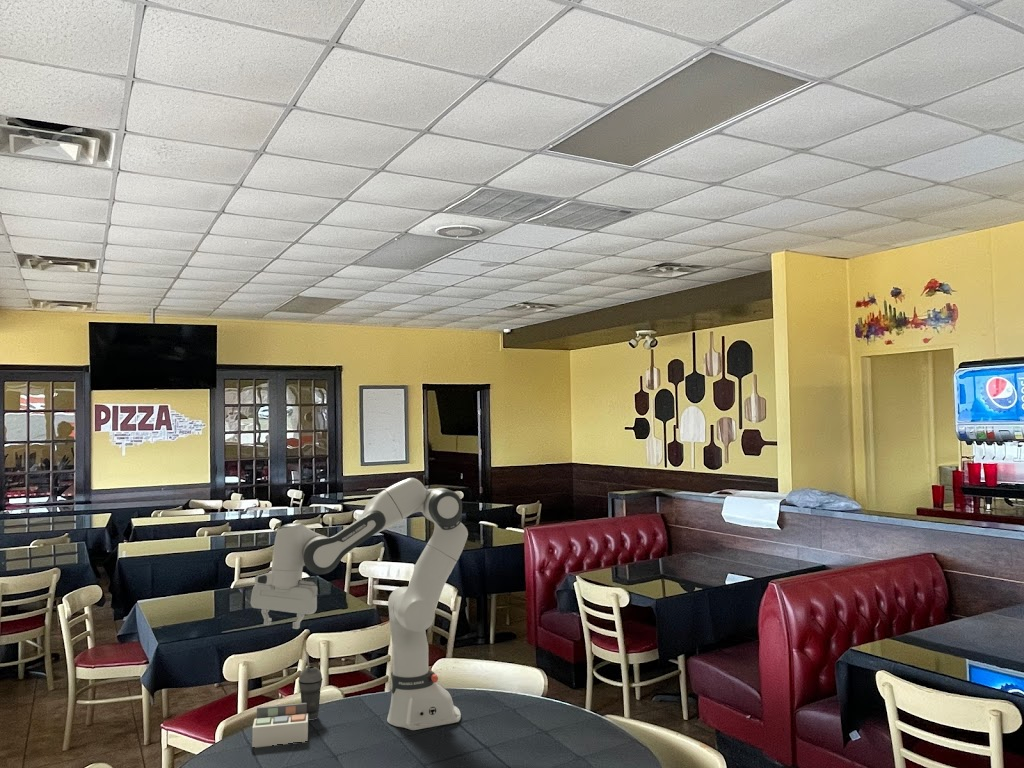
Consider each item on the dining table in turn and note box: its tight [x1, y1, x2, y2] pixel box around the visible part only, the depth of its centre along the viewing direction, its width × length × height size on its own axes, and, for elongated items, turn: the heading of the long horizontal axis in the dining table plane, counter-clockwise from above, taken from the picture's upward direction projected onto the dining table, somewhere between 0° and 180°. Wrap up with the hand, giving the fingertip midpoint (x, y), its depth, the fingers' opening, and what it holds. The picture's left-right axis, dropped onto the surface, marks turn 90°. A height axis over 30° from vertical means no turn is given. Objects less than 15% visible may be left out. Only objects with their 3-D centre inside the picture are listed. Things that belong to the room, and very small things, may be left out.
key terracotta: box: [292, 714, 305, 722], centre depth 220 cm, size 4×4×2 cm
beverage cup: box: [298, 651, 323, 720], centre depth 236 cm, size 7×7×20 cm
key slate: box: [274, 716, 288, 724], centre depth 219 cm, size 4×4×2 cm
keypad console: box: [251, 702, 309, 748], centre depth 220 cm, size 15×9×8 cm, turn 104°
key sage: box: [256, 717, 271, 726], centre depth 218 cm, size 4×4×2 cm
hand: (281, 626), depth 223 cm, fingers open, 8 cm apart
